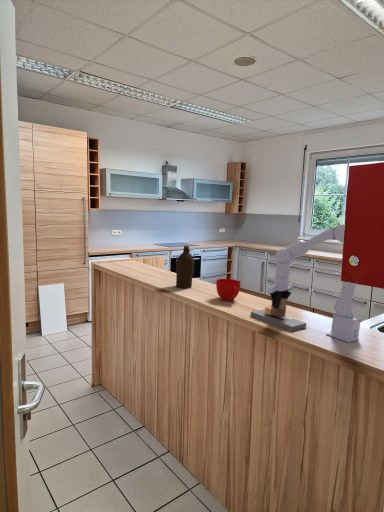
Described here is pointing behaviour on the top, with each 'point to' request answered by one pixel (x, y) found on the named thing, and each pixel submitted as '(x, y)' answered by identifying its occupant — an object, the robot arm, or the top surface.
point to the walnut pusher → (281, 310)
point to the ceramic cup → (228, 288)
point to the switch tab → (268, 310)
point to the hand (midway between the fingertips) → (278, 307)
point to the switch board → (279, 321)
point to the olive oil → (184, 269)
